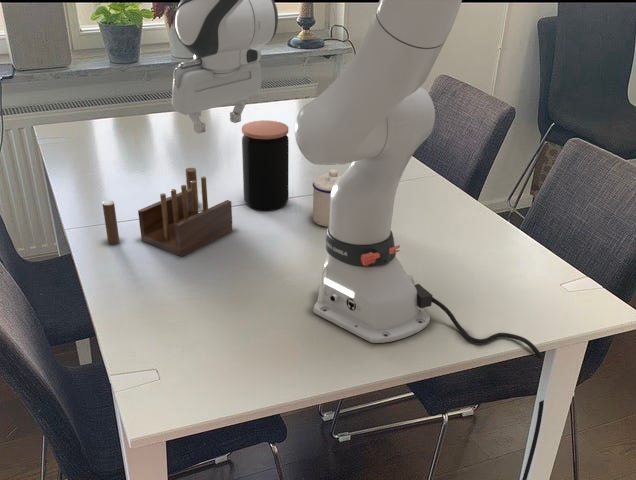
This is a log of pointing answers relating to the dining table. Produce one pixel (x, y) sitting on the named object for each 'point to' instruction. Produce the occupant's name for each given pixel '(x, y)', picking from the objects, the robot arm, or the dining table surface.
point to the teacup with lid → (323, 197)
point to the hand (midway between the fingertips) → (217, 126)
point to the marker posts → (111, 214)
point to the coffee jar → (265, 164)
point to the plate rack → (184, 221)
